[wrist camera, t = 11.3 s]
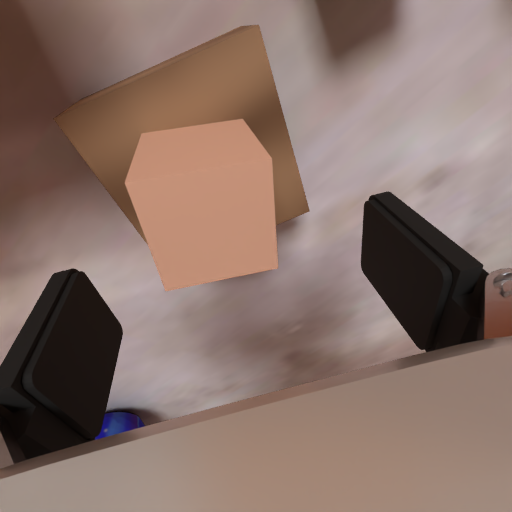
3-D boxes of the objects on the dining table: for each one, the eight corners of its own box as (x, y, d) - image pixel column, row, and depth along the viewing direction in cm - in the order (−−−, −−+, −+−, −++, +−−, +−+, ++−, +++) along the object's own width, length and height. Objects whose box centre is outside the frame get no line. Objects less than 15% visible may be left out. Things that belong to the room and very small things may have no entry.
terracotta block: (252, 206, 18) (278, 268, 14) (168, 221, 18) (165, 291, 13) (242, 118, 15) (272, 158, 10) (141, 133, 15) (124, 182, 10)
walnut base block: (287, 180, 23) (309, 211, 19) (169, 230, 24) (167, 270, 20) (240, 26, 17) (258, 24, 13) (81, 99, 17) (53, 118, 14)
